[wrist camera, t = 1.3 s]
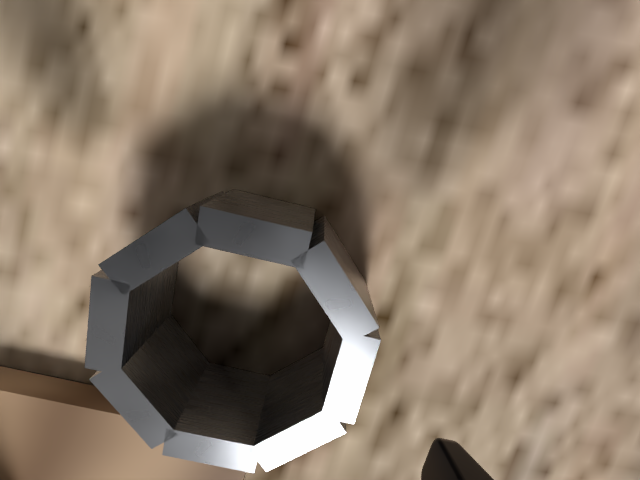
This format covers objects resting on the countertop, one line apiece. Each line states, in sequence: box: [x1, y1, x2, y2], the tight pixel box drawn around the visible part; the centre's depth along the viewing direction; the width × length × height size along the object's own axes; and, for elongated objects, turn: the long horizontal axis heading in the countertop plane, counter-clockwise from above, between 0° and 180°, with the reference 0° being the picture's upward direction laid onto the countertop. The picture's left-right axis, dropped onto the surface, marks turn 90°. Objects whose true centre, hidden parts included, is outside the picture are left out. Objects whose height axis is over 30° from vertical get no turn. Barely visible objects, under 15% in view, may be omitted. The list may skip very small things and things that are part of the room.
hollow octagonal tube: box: [85, 189, 381, 473], centre depth 10 cm, size 7×7×3 cm
